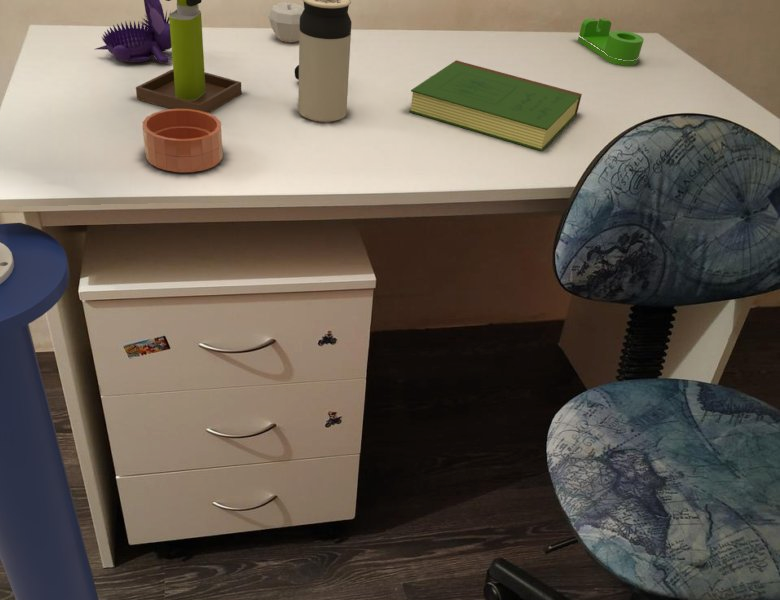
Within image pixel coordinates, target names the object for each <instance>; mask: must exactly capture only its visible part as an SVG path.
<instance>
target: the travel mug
mask: <svg viewBox="0 0 780 600" xmlns="http://www.w3.org/2000/svg"><path fill="white" fill-rule="evenodd" d="M302 1H303V7H304V11H303V12H302V14H301V16H300V30H299V40H298V65H299V80H298V99H297V100H298V103H297V104H298V107H297V111H298V113H299V115H301V116H302V117H304V118H306V119H308V120H311V121H313V122H320V123H333V122H335V121H339V120H342V119H344V118H345V117H346V116H347V110H348V96H349V95H348V94H349V93H348V92H349V74H350V57H351V41H352V39H351V38H352V20H351V17H350V15H349V8H350V5H351V3H352V0H302Z"/></svg>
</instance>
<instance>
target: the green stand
mask: <svg viewBox="0 0 780 600" xmlns="http://www.w3.org/2000/svg"><path fill="white" fill-rule="evenodd" d="M580 25H581V26H580V30H579V33H578V34H579V35H580V36H581V37H583V38H584V39H586V40H587V41H588V42H590V43H592V44H593V45H595V46H596V47H598V48H599V49H600V50H599V49H597V48H596V47H594V46H593V45H591V44H590V43H588V42H586V41H585V40H583V39H582V38H580V37H579V35H578V38H577V42H578V43H579V44H581V45H583V47H586V48H587V49H589V50H590V51H592V52H593V53H595V54H597V55H598V56H600V57H601V58H603V59H604V60H605V61H606V62H608V63H610V64H613V65H618V66H623V67H630V66H631V67H632V66H635V65H637V64H638V61H639V58H638V57H640V54H641V51H642V47H643V44H644V40H645V39H644V37H643V36H641V35H640V34H638V33H634V32H632V31H631V32H630V31H627V30H613V31H611V27H612V22H611V21H610V20H609V19H607V18H604V17H603V18H601V17H600V18H599V19H596V18H585V19H584V20H583V21H582V22H581V24H580ZM601 50H602V51H604V52H605V53H606V54H607V55H608V56H607V55H606V54H605V53H604V52H602V51H601ZM609 56H611V57H613V58H611V57H609ZM614 58H617V59H614ZM637 58H638V59H637ZM618 59H622V60H618ZM634 59H637V60H634ZM623 60H634V61H623Z"/></svg>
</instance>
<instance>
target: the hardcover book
mask: <svg viewBox="0 0 780 600" xmlns="http://www.w3.org/2000/svg"><path fill="white" fill-rule="evenodd" d="M410 92H412V94H411V95H412V97H411V105H410V109H408V113H411V114H414V115H418V116H421V117H425V118H429V119H431V120H435V121H439V122H442V123H445V124H448V125H452V126H455V127H459V128H462V129H466V130H468V131H473V132H475V133H479V134H482V135H485V136H490V137H493V138H496V139H499V140H502V141H506V142H509V143H513V144H516V145H520V146H523V147H527V148H530V149H534V150H536V151H540V152H543V151H544V150H545V149H546V148H547V147H548V146H549V145H550V144H551V143H552V142H553V141H554V140H555V138H557V136H559V134H561V132H562V131H563V130H564V129H565V128H566V127H567V126H568V125H569V124H570V122H571V121H573V119H574V118H575V117H576V116H577V115H578V111H579V108H580V103H581V99H582V95H583V94H582V93H580V92H576V91H572V90H568V89H564V88H561V87H557V86H554V85H549V84H546V83H542V82H539V81H535V80H531V79H528V78H523V77H520V76H517V75H512V74H509V73H505V72H501V71H497V70H494V69H490V68H487V67H483V66H479V65H475V64H471V63H468V62H464V61H461V60H457V59H456V60H454V61H452V62H451V63H449V64H448V65H446V66H445V67H444V68H442V69H441V70H439V71H437V72H436V73H435V74H433V75H431V76H430V77H428V78H426V79H425V80H424V81H422V82H420V83H419V84H418V85H416V86H415V87H413V88H412V89H411V90H410Z"/></svg>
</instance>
